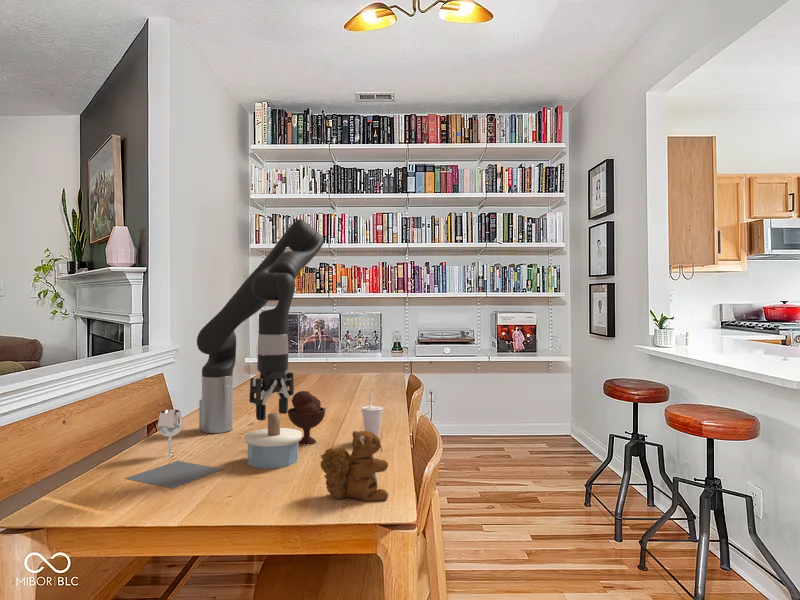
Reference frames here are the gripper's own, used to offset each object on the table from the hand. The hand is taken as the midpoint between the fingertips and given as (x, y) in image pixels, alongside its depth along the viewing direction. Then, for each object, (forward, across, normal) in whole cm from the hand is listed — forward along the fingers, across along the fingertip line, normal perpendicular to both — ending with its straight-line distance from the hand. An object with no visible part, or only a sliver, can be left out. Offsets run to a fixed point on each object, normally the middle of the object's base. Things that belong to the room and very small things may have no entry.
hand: (272, 416), depth 136 cm
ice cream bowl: (+12, -20, -4) cm, 24 cm away
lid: (+6, 0, 0) cm, 6 cm away
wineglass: (+12, +8, -27) cm, 30 cm away
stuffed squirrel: (+12, +10, +30) cm, 33 cm away
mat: (+12, +18, -14) cm, 25 cm away
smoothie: (+12, -30, +12) cm, 35 cm away
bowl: (+12, 0, 0) cm, 12 cm away
